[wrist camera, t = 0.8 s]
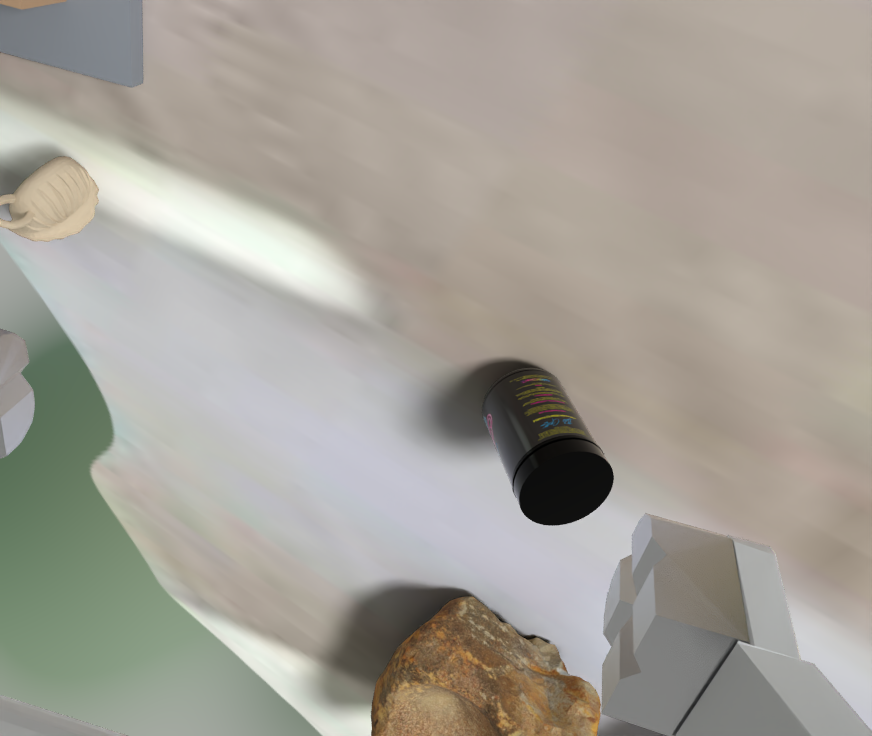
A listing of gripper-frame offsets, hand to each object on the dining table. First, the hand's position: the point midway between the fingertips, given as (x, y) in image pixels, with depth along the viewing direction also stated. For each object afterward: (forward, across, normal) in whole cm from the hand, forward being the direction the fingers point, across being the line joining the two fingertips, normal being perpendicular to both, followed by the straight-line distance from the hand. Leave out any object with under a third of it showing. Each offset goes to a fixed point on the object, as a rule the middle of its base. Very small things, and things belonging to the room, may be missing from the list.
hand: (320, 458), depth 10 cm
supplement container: (+44, -7, +27) cm, 52 cm away
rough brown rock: (+44, -7, +57) cm, 72 cm away
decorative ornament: (+44, +32, +20) cm, 58 cm away
